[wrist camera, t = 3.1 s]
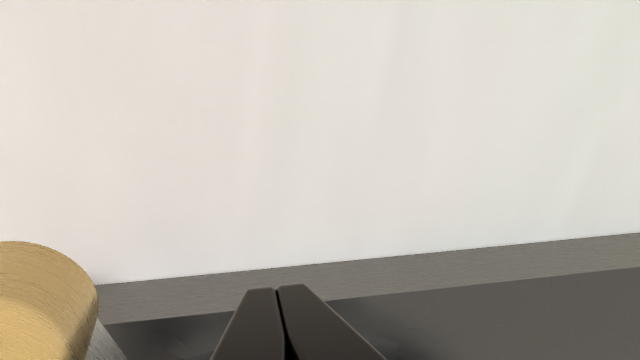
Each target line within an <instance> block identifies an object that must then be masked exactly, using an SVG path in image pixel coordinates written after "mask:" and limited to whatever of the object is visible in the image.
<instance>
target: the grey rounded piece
mask: <svg viewBox="0 0 640 360" xmlns="http://www.w3.org/2000/svg"><path fill="white" fill-rule="evenodd" d="M98 312H99V301H98V295H97V292H96V288H95V286H94V284H93V282H92V281H91V279H90V278H89V276H88V275H87V273H86V272H85V271H84V270H83V269H82V268H81V267H80V266H79V265H78V264H77V263H75V262H74V261H73V260H71V259H70V258H68V257H67V256H65V255H63V254H62V253H60V252H58V251H56V250H53V249H51V248H48V247H45V246H42V245H38V244H34V243H28V242H19V241H2V242H0V360H128V359H127V358H126V356H125V355H124V353H123V352H122V351H121V349H120V348H119V347H118V345H117V344H116V343H115V341H114V340H113V339H112V337H111V336H110V335H109V333H108V332H107V330H106V329H105V328H104V326H103V325H102V324H101V322H100V321H99V320H98V318H97V317H98Z"/></svg>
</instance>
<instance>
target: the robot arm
mask: <svg viewBox="0 0 640 360" xmlns="http://www.w3.org/2000/svg"><path fill="white" fill-rule="evenodd" d="M210 360H387V359H386V358H385V357H384V356H383V355H382V354H381V353H379V352H378V351H377V350H376V349H375V348H374V347H373V346H372V345H371V344H370V343H369V342H368V341H366V340H365V339H364V338H363V337H362V336H361V335H360V334H359V333H358V332H357V331H356V330H355V329H354V328H352V327H351V326H350V325H349V324H348V323H347V322H346V321H345V320H344V319H343V318H342V317H341V316H339V315H338V314H337V313H336V312H335V311H334V310H333V309H332V308H331V307H330V306H329V305H328V304H326V303H325V302H324V301H323V300H322V299H321V298H320V297H319V296H318V295H317V294H316V293H315V292H313V291H312V290H311V289H310V288H309V287H308V286H307V285H306V284H304V283H294V284H285V285H279V286H278V287H277V288H276V290H275V288H274V287H272V286H267V287H258V288H250V289H247V290H246V291H245V293H244V295H243V297H242V298H241V300H240V302H239V304H238V306H237V308H236V310H235V312H234V314H233V316H232V318H231V320H230V322H229V324H228V326H227V327H226V329H225V331H224V333H223V335H222V337H221V339H220V341H219V343H218V345H217V347H216V349H215V351H214V353H213V355H212V357H211V358H210Z"/></svg>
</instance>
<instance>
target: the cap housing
mask: <svg viewBox="0 0 640 360" xmlns="http://www.w3.org/2000/svg"><path fill="white" fill-rule="evenodd" d="M294 283H304V284H306V285H307V286H308V287H309V288H310V289H311V290H312V291H313V292H315V293H316V294H317V295H318V296H319V297H320V298H321V299H322V300H323V301H324V302H325V303H326V304H328V305H329V306H330V307H331V308H332V309H333V310H334V311H335V312H336V313H337V314H338V315H339V316H341V317H342V318H343V319H344V320H345V321H346V322H347V323H348V324H349V325H350V326H351V327H352V328H354V329H355V330H356V331H357V332H358V333H359V334H360V335H361V336H362V337H363V338H364V339H365V340H366V341H368V342H369V343H370V344H371V345H372V346H373V347H374V348H375V349H376V350H377V351H378V352H379V353H381V354H382V355H383V356H384V357H385V358H386V359H387V360H640V233H631V234H621V235H611V236H600V237H590V238H580V239H569V240H559V241H549V242H538V243H528V244H518V245H508V246H497V247H487V248H477V249H466V250H456V251H446V252H436V253H425V254H415V255H405V256H394V257H384V258H374V259H363V260H353V261H343V262H333V263H322V264H312V265H302V266H291V267H281V268H271V269H261V270H250V271H240V272H230V273H219V274H209V275H199V276H188V277H178V278H168V279H158V280H147V281H137V282H127V283H116V284H106V285H96V286H95V288H96V292H97V295H98V301H99V312H98V317H97V318H98V320H99V321H100V322H101V324H102V325H103V326H104V328H105V329H106V330H107V332H108V333H109V335H110V336H111V337H112V339H113V340H114V341H115V343H116V344H117V345H118V347H119V348H120V349H121V351H122V352H123V353H124V355H125V356H126V358H127V359H128V360H210V358H211V357H212V355H213V353H214V351H215V349H216V347H217V345H218V343H219V341H220V339H221V337H222V335H223V333H224V331H225V329H226V327H227V326H228V324H229V322H230V320H231V318H232V316H233V314H234V312H235V310H236V308H237V306H238V304H239V302H240V300H241V298H242V297H243V295H244V293H245V291H246V290H247V289H250V288H258V287H267V286H272V287H274V288H275V290H276V288H277V287H278V286H279V285H285V284H294Z"/></svg>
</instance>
